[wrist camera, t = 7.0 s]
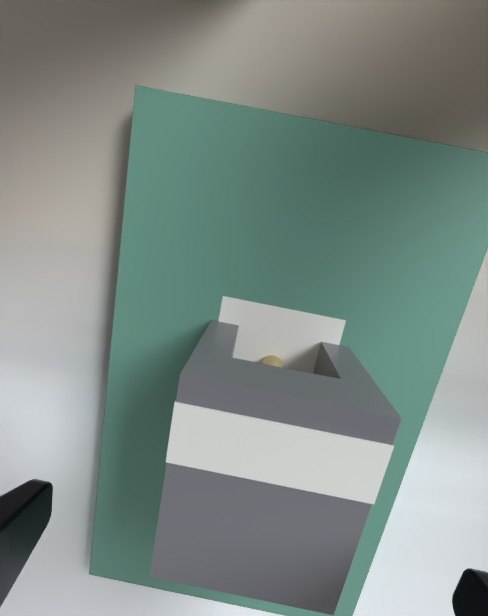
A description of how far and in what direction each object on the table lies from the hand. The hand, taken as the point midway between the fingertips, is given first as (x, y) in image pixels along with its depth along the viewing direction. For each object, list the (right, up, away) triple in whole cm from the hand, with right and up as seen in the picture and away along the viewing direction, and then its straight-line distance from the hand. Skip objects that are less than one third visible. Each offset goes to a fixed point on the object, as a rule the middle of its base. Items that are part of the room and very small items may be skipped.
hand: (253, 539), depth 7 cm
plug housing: (0, +1, +5) cm, 6 cm away
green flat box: (0, +1, +7) cm, 7 cm away
